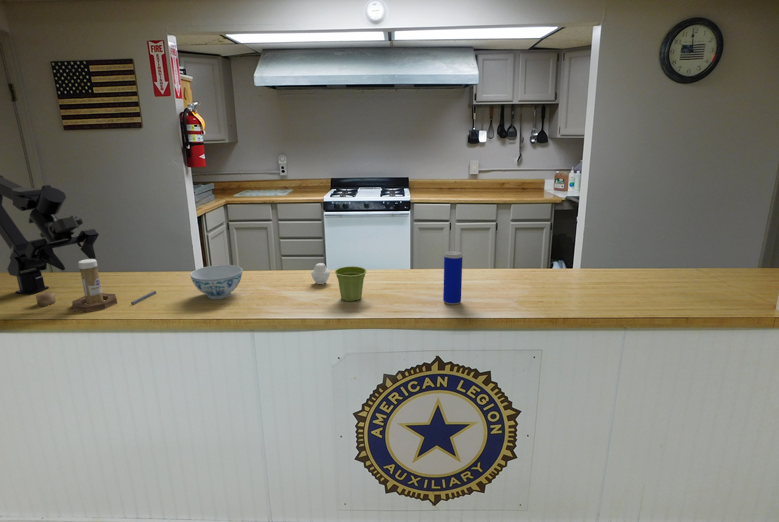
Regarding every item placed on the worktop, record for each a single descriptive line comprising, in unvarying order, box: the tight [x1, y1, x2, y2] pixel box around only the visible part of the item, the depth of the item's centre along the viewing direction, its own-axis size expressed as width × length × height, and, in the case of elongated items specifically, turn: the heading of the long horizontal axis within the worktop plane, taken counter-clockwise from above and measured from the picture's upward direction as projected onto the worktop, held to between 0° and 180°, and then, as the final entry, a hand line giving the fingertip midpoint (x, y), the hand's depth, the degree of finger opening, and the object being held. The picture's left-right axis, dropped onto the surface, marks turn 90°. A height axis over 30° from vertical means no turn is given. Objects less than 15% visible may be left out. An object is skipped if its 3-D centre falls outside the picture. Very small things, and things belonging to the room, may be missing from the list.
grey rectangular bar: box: [130, 290, 157, 306], centre depth 145 cm, size 10×1×1 cm, turn 168°
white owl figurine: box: [310, 262, 331, 285], centre depth 157 cm, size 6×6×7 cm
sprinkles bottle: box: [77, 258, 104, 304], centre depth 139 cm, size 5×5×14 cm
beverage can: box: [442, 250, 463, 306], centre depth 138 cm, size 5×5×15 cm
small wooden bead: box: [35, 291, 57, 307], centre depth 141 cm, size 4×4×3 cm
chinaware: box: [189, 264, 243, 300], centre depth 146 cm, size 15×15×8 cm
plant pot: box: [334, 265, 367, 302], centre depth 143 cm, size 9×9×9 cm
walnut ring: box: [71, 292, 118, 313], centre depth 141 cm, size 11×11×2 cm
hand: (80, 265), depth 139 cm, fingers open, 9 cm apart
